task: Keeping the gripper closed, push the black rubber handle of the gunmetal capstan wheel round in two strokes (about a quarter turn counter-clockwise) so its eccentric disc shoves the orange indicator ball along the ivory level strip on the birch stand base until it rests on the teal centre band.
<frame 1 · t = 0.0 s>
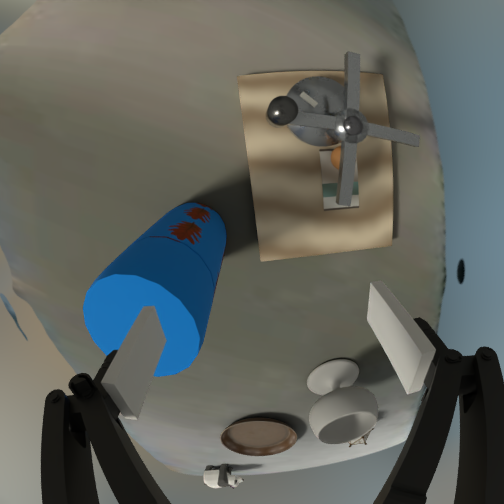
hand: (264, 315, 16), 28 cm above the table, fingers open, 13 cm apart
cam wheel: (350, 125, 29), point 9 cm above the table, hinge at 0.0°
giant panda: (222, 466, 74), on the table
plant saucer: (258, 431, 65), on the table
thermos: (194, 234, 44), on the table
stand base: (322, 162, 39), on the table
ball: (343, 158, 35), point 4 cm above the table, slide at 0.0 cm
chalice: (332, 376, 56), on the table
game die: (353, 421, 64), on the table
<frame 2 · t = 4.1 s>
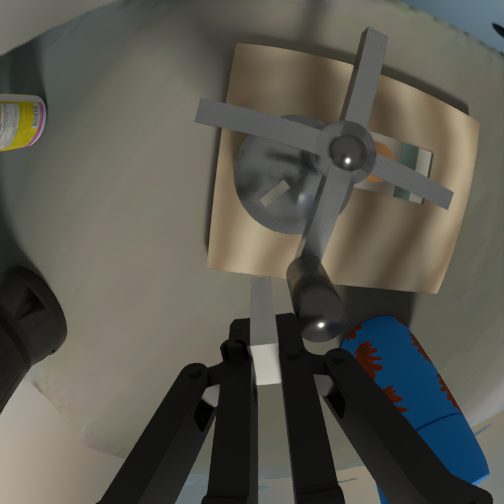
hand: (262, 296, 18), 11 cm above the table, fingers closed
cam wheel: (346, 154, 17), point 9 cm above the table, hinge at 2.7°, touching gripper
thermos: (373, 345, 34), on the table
stand base: (360, 178, 26), on the table
ball: (375, 161, 21), point 4 cm above the table, slide at 0.0 cm
supplement bottle: (32, 120, 23), on the table
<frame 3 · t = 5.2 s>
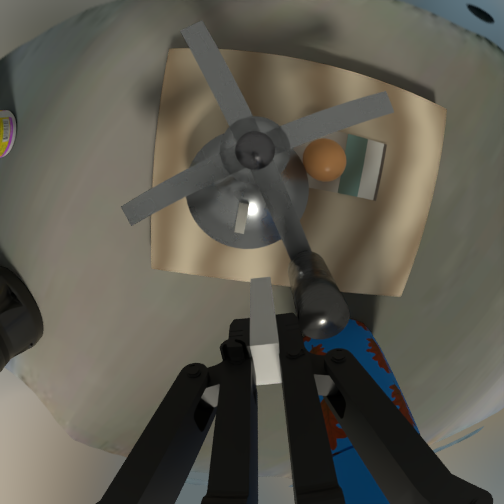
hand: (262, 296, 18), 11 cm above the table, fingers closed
cam wheel: (256, 151, 17), point 9 cm above the table, hinge at 42.2°, touching gripper
thermos: (334, 348, 34), on the table
stand base: (303, 175, 26), on the table
ball: (324, 159, 21), point 4 cm above the table, slide at 1.4 cm
supplement bottle: (6, 133, 23), on the table
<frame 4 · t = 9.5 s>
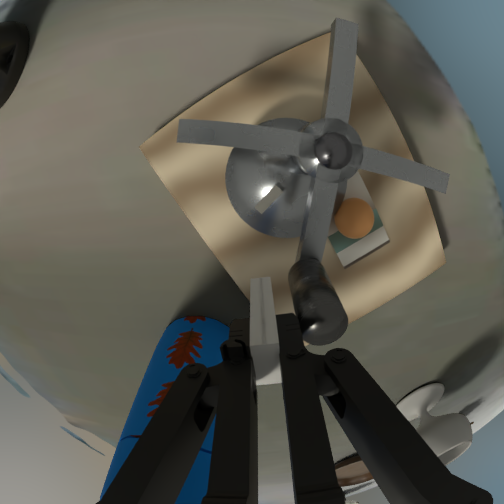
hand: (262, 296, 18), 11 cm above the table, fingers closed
cam wheel: (331, 152, 17), point 9 cm above the table, hinge at 59.9°, touching gripper
giant panda: (335, 494, 62), on the table
plant saucer: (358, 463, 51), on the table
thermos: (201, 346, 34), on the table
stand base: (315, 201, 27), on the table
ball: (354, 218, 23), point 4 cm above the table, slide at 2.5 cm
chalice: (417, 401, 41), on the table
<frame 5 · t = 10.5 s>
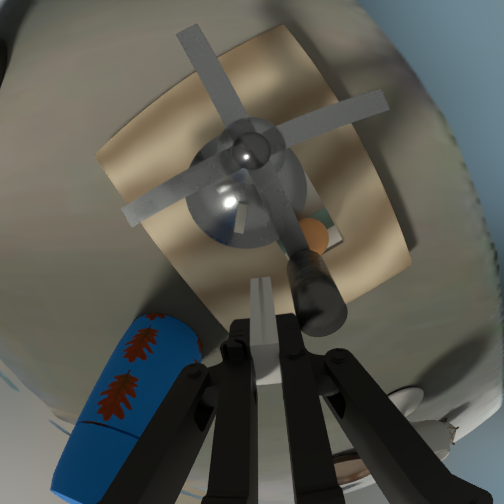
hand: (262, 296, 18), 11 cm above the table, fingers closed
cam wheel: (252, 152, 17), point 9 cm above the table, hinge at 92.9°, touching gripper
plant saucer: (339, 465, 52), on the table
thermos: (164, 343, 35), on the table
stand base: (263, 201, 27), on the table
ball: (308, 238, 24), point 4 cm above the table, slide at 4.7 cm
chalice: (395, 405, 41), on the table
game die: (436, 424, 47), on the table
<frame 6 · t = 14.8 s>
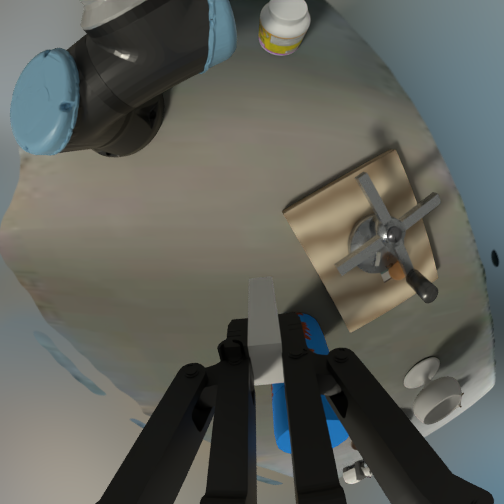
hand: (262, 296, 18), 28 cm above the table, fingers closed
cam wheel: (393, 234, 37), point 9 cm above the table, hinge at 104.8°
giant panda: (356, 463, 82), on the table
thermos: (294, 333, 54), on the table
stand base: (371, 246, 47), on the table
ball: (397, 270, 44), point 4 cm above the table, slide at 5.3 cm
chalice: (421, 372, 61), on the table
supplement bottle: (279, 40, 34), on the table
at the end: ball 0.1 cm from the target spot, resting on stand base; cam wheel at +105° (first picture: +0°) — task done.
